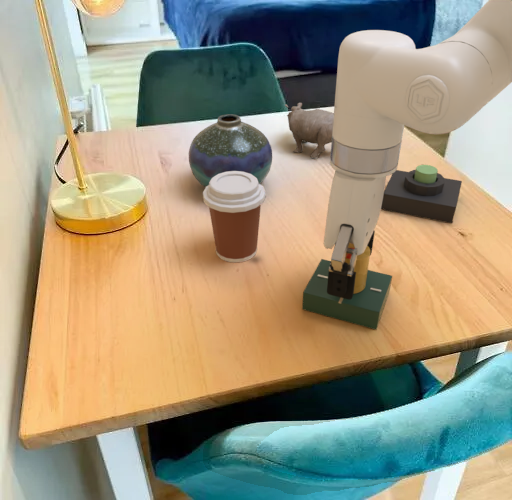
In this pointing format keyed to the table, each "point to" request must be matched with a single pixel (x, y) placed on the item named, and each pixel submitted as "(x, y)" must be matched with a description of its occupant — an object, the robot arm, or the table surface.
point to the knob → (359, 268)
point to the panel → (355, 310)
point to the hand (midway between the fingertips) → (350, 273)
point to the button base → (421, 196)
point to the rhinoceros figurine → (311, 128)
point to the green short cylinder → (425, 174)
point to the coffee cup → (235, 214)
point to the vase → (229, 150)
